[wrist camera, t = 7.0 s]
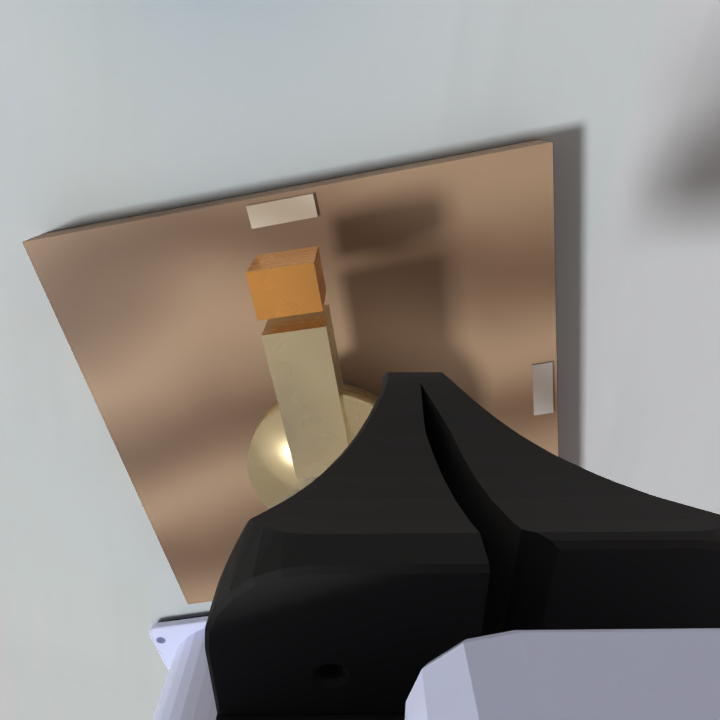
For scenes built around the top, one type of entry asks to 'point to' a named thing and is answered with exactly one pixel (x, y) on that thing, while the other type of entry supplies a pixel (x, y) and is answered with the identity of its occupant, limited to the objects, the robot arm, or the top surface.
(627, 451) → the top surface
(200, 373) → the board
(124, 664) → the top surface
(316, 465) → the lever handle
